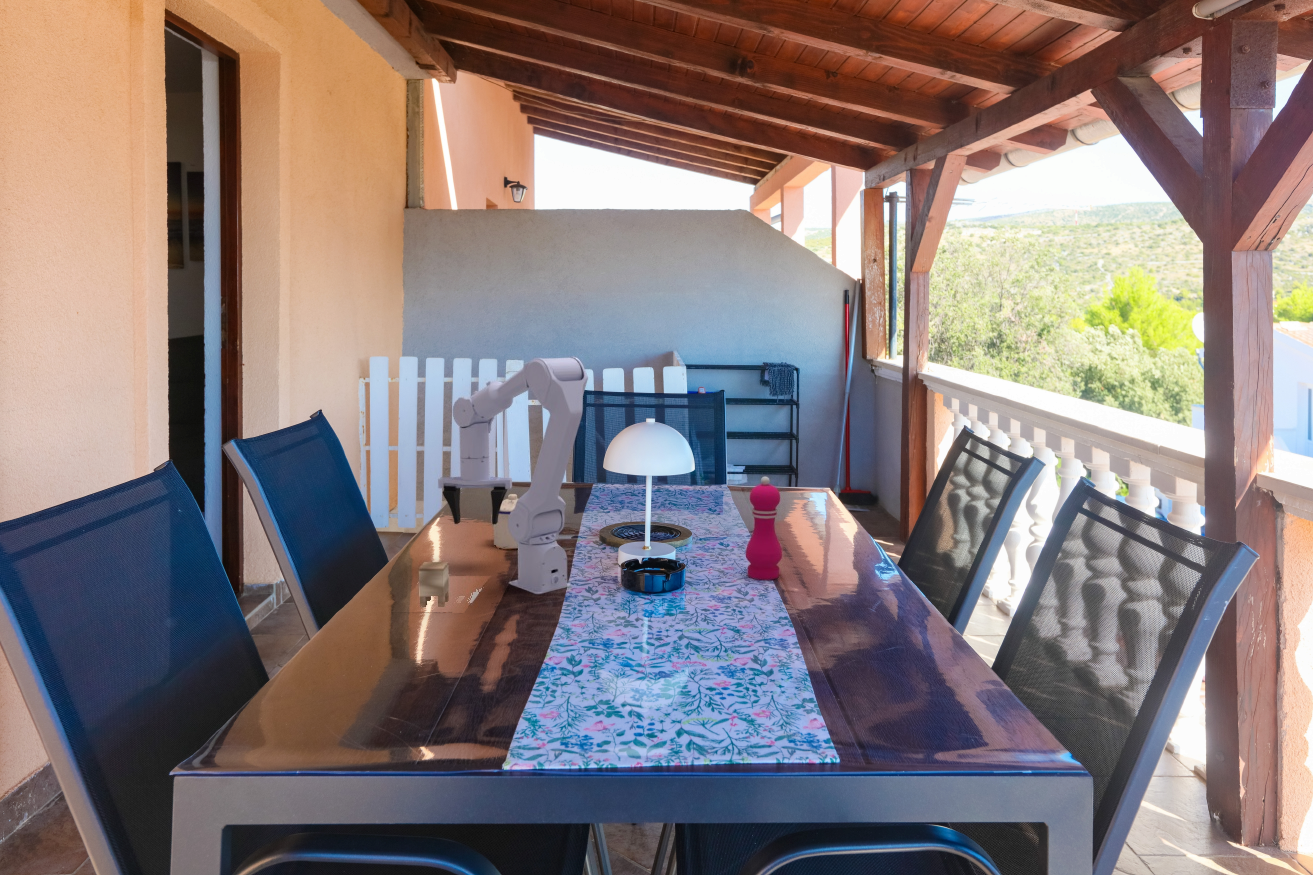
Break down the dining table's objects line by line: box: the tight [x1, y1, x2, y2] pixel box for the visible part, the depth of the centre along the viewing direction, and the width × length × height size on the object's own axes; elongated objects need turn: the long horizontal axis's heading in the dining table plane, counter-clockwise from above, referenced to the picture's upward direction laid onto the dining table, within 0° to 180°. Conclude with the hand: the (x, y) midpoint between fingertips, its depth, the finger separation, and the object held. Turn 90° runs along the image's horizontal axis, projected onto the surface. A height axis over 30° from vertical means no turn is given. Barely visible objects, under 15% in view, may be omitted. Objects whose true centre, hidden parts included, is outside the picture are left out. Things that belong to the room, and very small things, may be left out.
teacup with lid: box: [490, 493, 519, 548], centre depth 199 cm, size 12×9×12 cm
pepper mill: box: [745, 476, 783, 581], centre depth 175 cm, size 7×7×20 cm
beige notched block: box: [418, 561, 450, 607], centre depth 156 cm, size 4×4×7 cm
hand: (476, 523), depth 179 cm, fingers open, 7 cm apart
